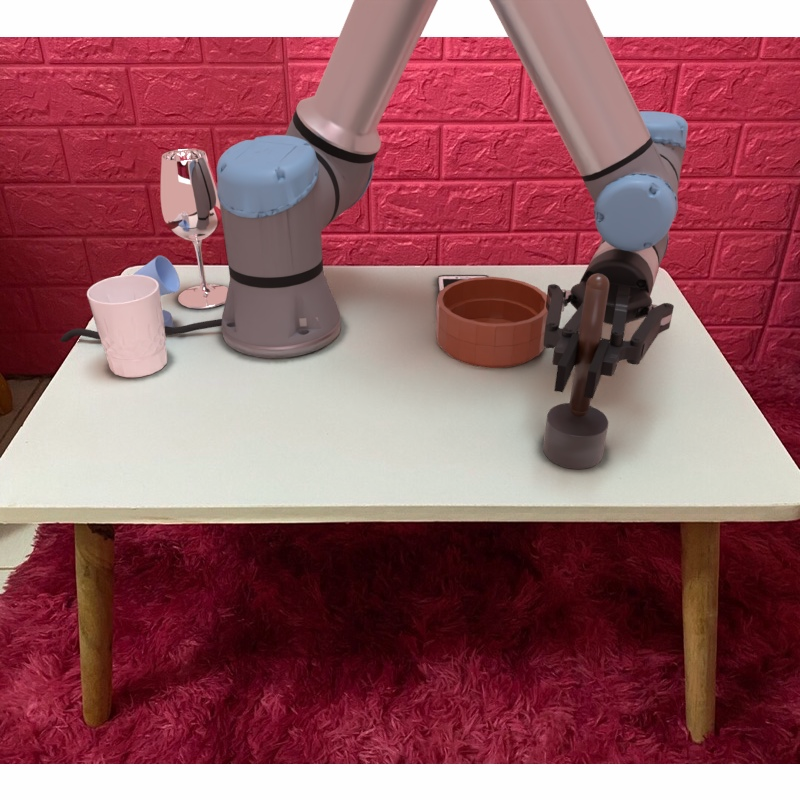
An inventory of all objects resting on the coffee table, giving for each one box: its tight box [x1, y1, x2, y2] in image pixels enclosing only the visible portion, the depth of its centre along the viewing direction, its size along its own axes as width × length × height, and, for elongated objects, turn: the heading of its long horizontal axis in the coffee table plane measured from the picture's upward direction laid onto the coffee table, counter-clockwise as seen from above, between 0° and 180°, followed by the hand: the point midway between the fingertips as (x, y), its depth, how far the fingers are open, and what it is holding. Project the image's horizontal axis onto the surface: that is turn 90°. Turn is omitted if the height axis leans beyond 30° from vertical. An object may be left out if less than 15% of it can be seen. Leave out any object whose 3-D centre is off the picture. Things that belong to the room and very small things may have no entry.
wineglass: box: [159, 148, 228, 310], centre depth 104 cm, size 8×8×20 cm
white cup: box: [86, 274, 168, 378], centre depth 91 cm, size 8×8×10 cm
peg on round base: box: [542, 273, 609, 470], centre depth 73 cm, size 6×6×20 cm
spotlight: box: [132, 255, 181, 335], centre depth 99 cm, size 5×10×7 cm
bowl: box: [435, 276, 548, 369], centre depth 96 cm, size 14×14×6 cm
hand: (575, 381), depth 68 cm, fingers closed on peg on round base, 2 cm apart
